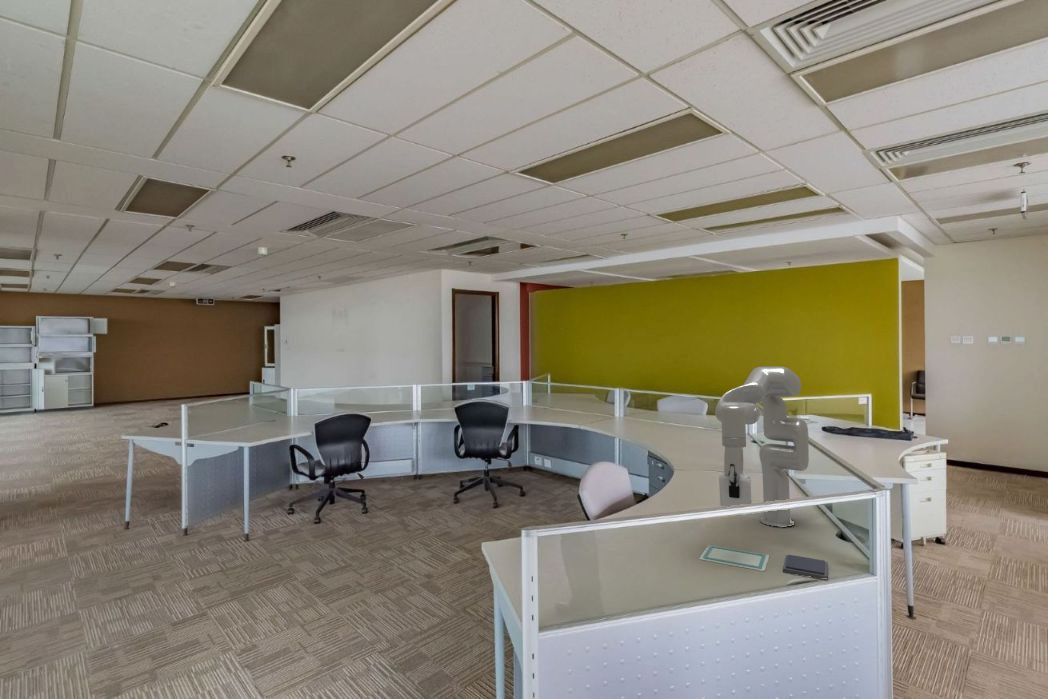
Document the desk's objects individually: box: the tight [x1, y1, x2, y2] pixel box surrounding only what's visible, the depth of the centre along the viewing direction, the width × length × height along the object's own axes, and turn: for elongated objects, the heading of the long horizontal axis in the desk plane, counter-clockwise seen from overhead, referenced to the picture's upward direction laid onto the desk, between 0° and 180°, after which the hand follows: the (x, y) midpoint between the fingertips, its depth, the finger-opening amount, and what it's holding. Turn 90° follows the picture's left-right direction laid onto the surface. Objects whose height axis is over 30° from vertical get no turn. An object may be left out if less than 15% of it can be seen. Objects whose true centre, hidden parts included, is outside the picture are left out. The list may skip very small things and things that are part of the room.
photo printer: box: [718, 471, 752, 507], centre depth 170 cm, size 10×4×12 cm, turn 44°
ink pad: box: [782, 554, 829, 579], centre depth 160 cm, size 12×12×2 cm
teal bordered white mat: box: [698, 544, 770, 573], centre depth 170 cm, size 14×20×1 cm
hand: (735, 494), depth 170 cm, fingers closed on photo printer, 5 cm apart
